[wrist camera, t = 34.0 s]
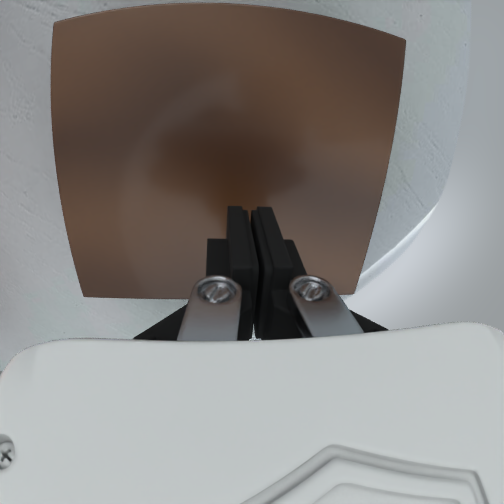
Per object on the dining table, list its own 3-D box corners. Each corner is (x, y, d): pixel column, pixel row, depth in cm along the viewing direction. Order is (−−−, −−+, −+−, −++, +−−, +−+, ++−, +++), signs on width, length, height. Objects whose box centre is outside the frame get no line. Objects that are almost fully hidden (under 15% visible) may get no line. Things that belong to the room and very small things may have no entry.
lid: (349, 286, 17) (354, 295, 16) (87, 288, 15) (83, 297, 14) (397, 40, 10) (407, 39, 10) (61, 24, 8) (52, 21, 7)
